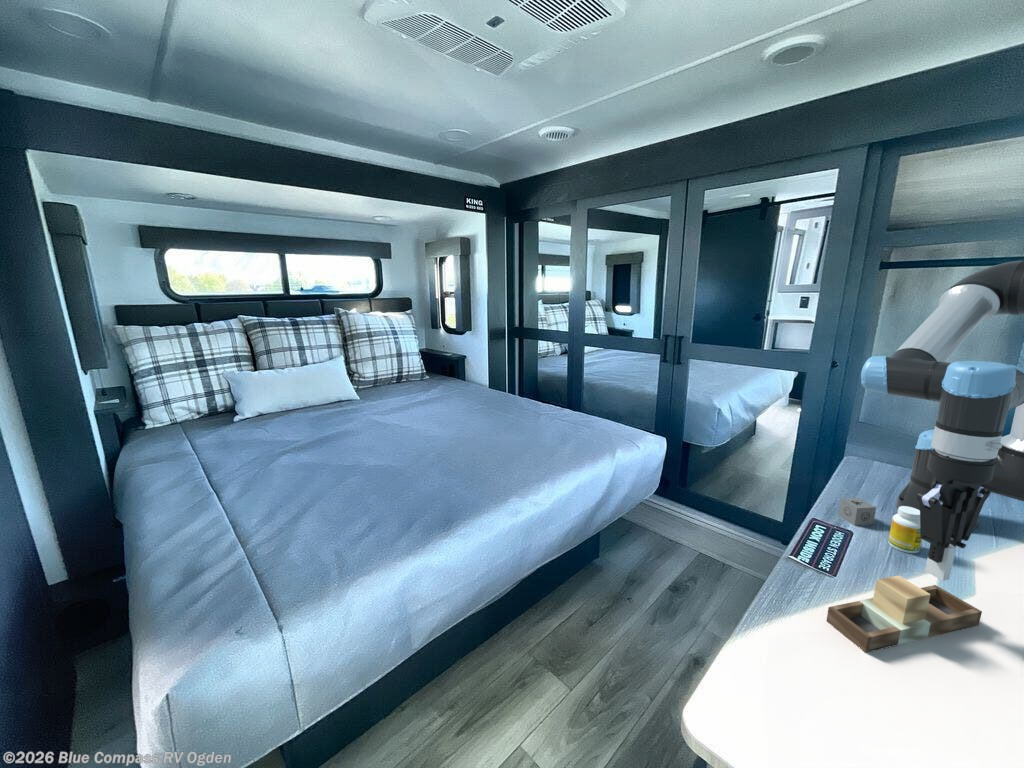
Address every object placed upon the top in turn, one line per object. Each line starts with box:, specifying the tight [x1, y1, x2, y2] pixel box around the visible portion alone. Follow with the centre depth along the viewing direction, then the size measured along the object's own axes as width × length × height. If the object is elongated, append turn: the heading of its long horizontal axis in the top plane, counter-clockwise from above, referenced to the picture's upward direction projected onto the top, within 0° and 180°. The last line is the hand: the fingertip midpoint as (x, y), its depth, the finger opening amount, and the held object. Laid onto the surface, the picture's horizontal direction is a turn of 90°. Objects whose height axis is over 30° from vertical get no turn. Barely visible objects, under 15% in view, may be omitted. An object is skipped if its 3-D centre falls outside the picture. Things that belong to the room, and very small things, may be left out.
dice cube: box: [838, 497, 877, 527], centre depth 107 cm, size 5×5×5 cm
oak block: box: [872, 575, 931, 624], centre depth 73 cm, size 5×5×5 cm
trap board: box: [826, 584, 983, 653], centre depth 74 cm, size 25×7×3 cm, turn 101°
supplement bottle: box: [887, 506, 923, 554], centre depth 95 cm, size 5×5×10 cm
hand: (936, 575), depth 74 cm, fingers closed
